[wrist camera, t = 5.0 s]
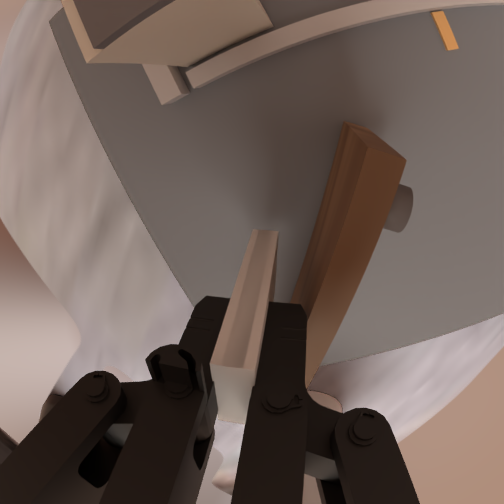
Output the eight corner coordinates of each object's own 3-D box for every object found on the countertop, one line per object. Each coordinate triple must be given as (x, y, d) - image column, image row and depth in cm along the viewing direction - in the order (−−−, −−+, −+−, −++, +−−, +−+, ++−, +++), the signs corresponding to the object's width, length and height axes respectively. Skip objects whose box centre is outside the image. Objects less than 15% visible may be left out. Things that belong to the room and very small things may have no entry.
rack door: (281, 328, 18) (264, 418, 12) (343, 120, 12) (367, 146, 7) (321, 338, 17) (316, 428, 12) (397, 138, 11) (454, 178, 6)
